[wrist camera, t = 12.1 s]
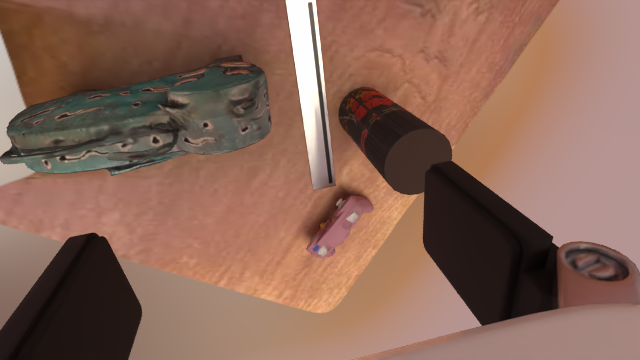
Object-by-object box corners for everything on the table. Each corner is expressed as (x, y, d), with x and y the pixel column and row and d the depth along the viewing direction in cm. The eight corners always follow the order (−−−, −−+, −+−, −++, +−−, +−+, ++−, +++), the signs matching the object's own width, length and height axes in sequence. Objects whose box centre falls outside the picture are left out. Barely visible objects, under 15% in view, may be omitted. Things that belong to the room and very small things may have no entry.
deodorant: (394, 98, 41) (465, 143, 28) (371, 142, 43) (427, 202, 30) (352, 79, 39) (407, 117, 26) (330, 126, 41) (371, 183, 28)
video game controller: (350, 182, 47) (345, 194, 40) (376, 203, 47) (376, 218, 40) (307, 234, 50) (296, 253, 43) (332, 254, 50) (324, 276, 43)
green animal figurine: (254, 40, 35) (268, 77, 18) (269, 101, 39) (292, 183, 21) (53, 80, 34) (-151, 164, 16) (85, 141, 37) (-56, 267, 19)
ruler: (285, -1, 34) (285, -1, 34) (314, -5, 35) (315, -5, 35) (312, 189, 45) (313, 190, 45) (335, 185, 45) (335, 185, 45)
